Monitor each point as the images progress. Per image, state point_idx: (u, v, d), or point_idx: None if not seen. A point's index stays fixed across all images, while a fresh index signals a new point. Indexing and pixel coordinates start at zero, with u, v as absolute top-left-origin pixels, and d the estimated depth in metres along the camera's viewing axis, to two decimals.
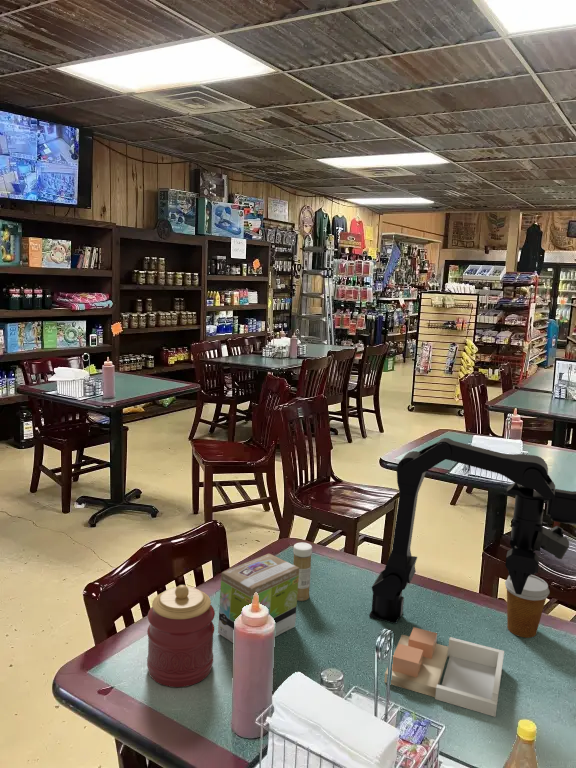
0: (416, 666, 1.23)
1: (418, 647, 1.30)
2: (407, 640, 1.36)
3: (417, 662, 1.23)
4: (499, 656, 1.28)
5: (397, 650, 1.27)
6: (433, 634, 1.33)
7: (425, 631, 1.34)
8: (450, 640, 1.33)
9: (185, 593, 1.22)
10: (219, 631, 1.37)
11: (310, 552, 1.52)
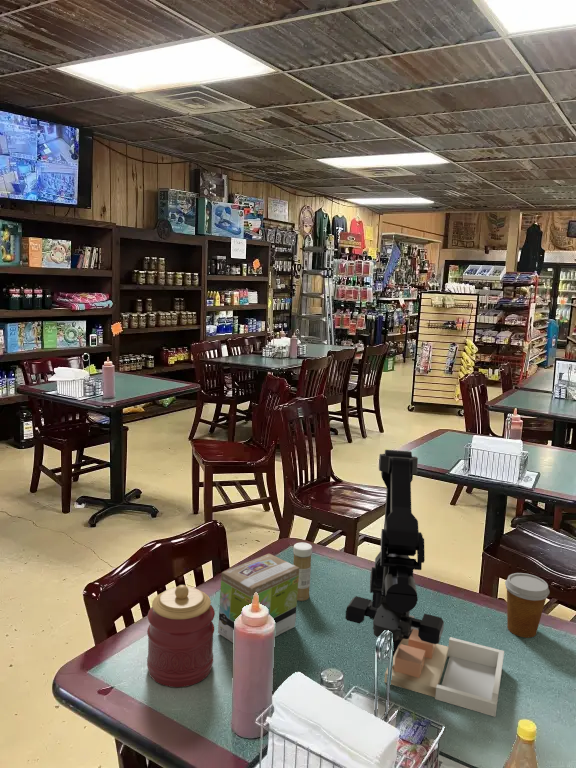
0: (418, 666, 1.23)
1: (418, 647, 1.30)
2: (407, 640, 1.36)
3: (419, 662, 1.23)
4: (499, 656, 1.28)
5: (399, 651, 1.26)
6: None
7: None
8: (450, 640, 1.33)
9: (185, 593, 1.22)
10: (219, 631, 1.37)
11: (310, 552, 1.52)
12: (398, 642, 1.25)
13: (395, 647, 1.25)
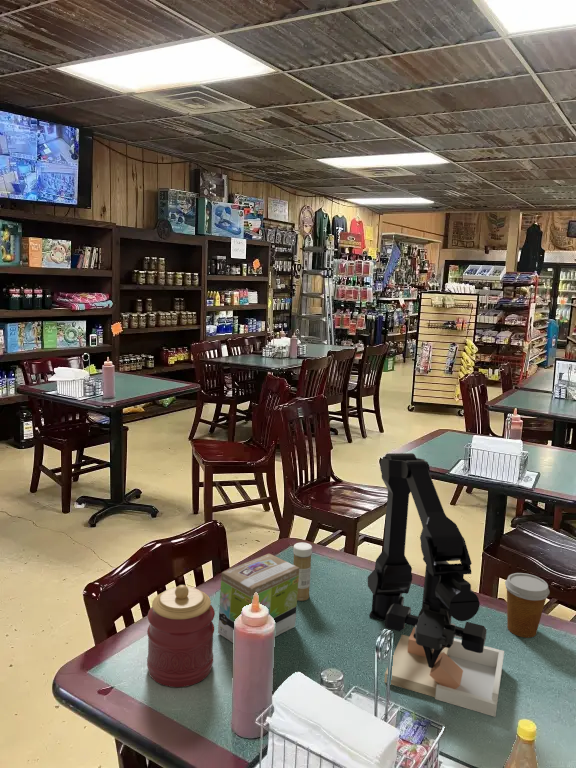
0: (456, 686, 1.20)
1: (418, 647, 1.30)
2: (407, 640, 1.36)
3: (459, 683, 1.20)
4: (499, 656, 1.28)
5: (442, 660, 1.23)
6: None
7: None
8: None
9: (185, 593, 1.22)
10: (219, 631, 1.37)
11: (310, 552, 1.52)
12: (439, 651, 1.22)
13: (436, 656, 1.22)
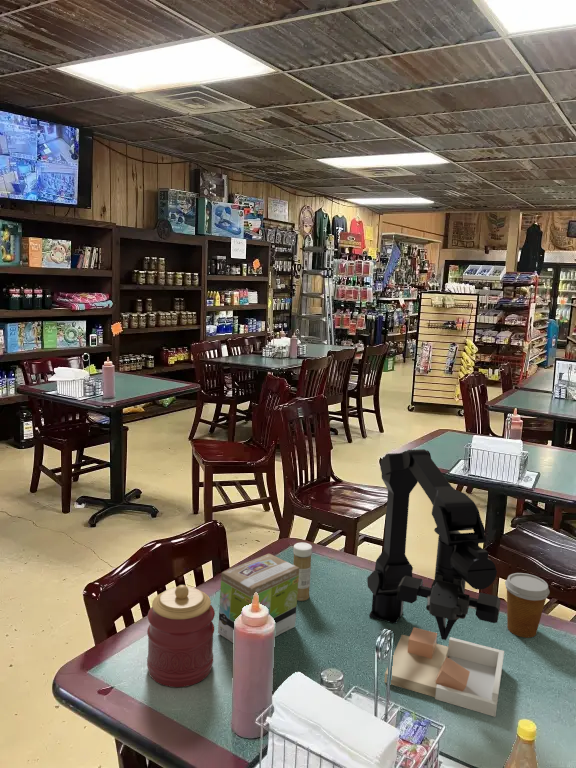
0: (462, 687, 1.20)
1: (418, 647, 1.30)
2: (407, 640, 1.36)
3: (465, 684, 1.20)
4: (499, 656, 1.28)
5: (445, 664, 1.23)
6: (433, 634, 1.33)
7: (425, 631, 1.34)
8: (450, 640, 1.33)
9: (185, 593, 1.22)
10: (219, 631, 1.37)
11: (310, 552, 1.52)
12: (453, 622, 1.20)
13: (449, 627, 1.20)
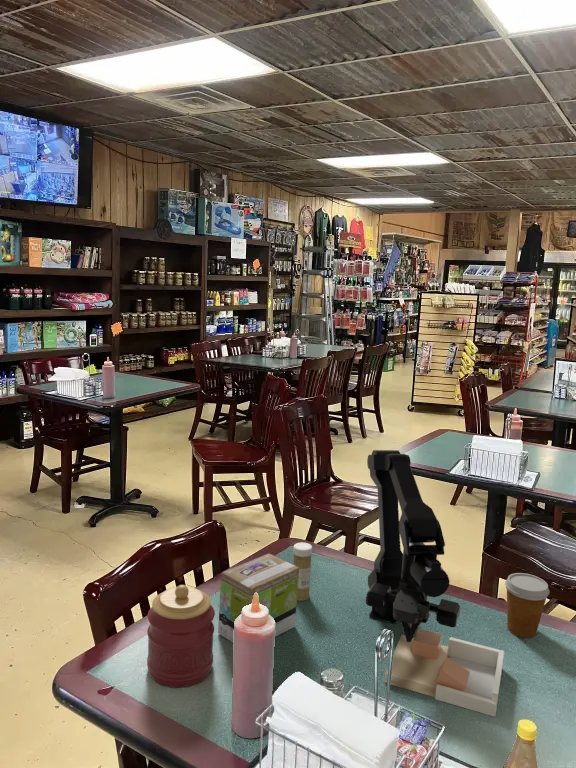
0: (462, 688, 1.20)
1: (423, 648, 1.30)
2: None
3: (465, 684, 1.20)
4: (499, 656, 1.28)
5: (445, 664, 1.23)
6: (438, 635, 1.33)
7: (430, 632, 1.34)
8: (450, 640, 1.33)
9: (185, 593, 1.22)
10: (219, 631, 1.37)
11: (310, 552, 1.52)
12: (416, 626, 1.31)
13: (413, 631, 1.31)
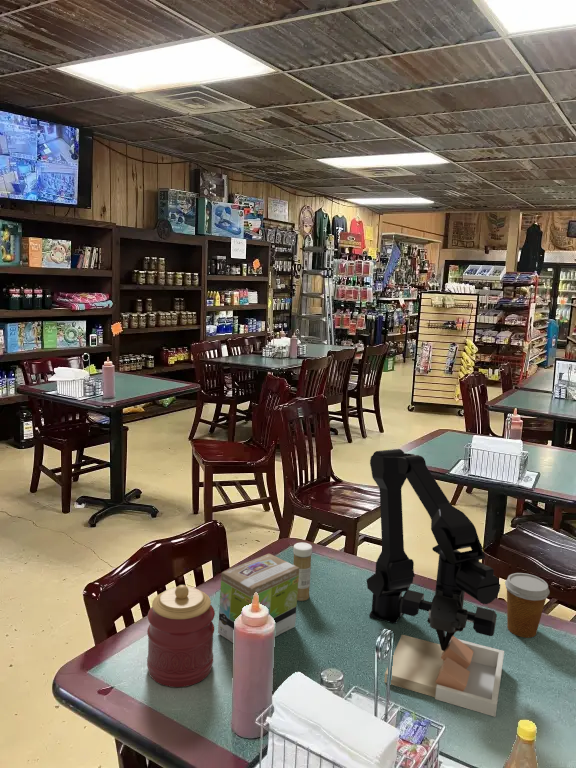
0: (462, 688, 1.20)
1: (454, 659, 1.28)
2: (407, 640, 1.36)
3: (465, 684, 1.20)
4: (499, 656, 1.28)
5: (445, 664, 1.23)
6: (470, 651, 1.30)
7: (463, 644, 1.31)
8: None
9: (185, 593, 1.22)
10: (219, 631, 1.37)
11: (310, 552, 1.52)
12: (452, 634, 1.28)
13: (448, 639, 1.29)
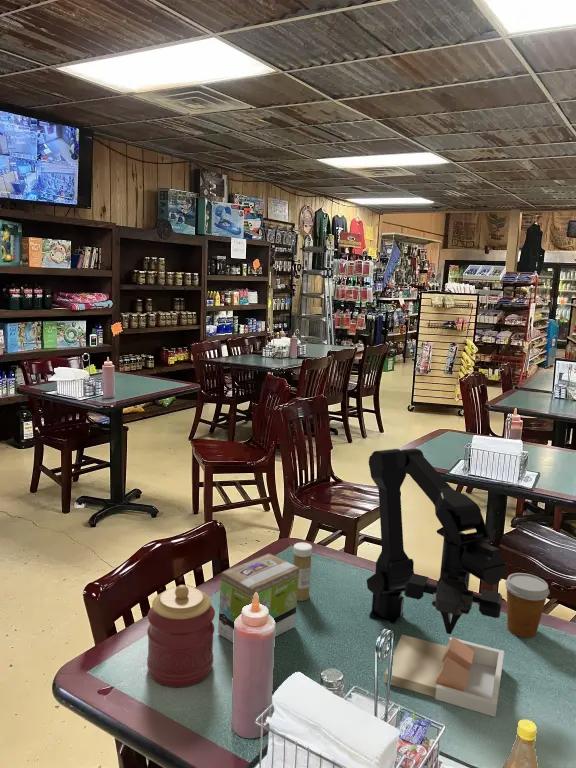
0: (462, 688, 1.20)
1: (455, 660, 1.28)
2: (407, 640, 1.36)
3: (465, 684, 1.20)
4: (499, 656, 1.28)
5: (445, 664, 1.23)
6: (471, 650, 1.30)
7: (463, 645, 1.31)
8: None
9: (185, 593, 1.22)
10: (219, 631, 1.37)
11: (310, 552, 1.52)
12: (458, 617, 1.27)
13: (454, 622, 1.28)
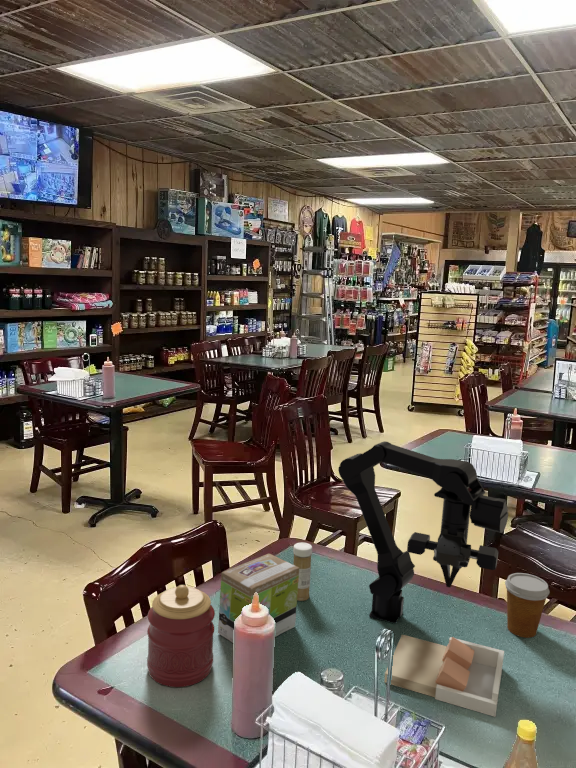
0: (462, 688, 1.20)
1: (455, 660, 1.28)
2: (407, 640, 1.36)
3: (465, 684, 1.20)
4: (499, 656, 1.28)
5: (445, 664, 1.23)
6: (471, 650, 1.30)
7: (463, 645, 1.31)
8: None
9: (185, 593, 1.22)
10: (219, 631, 1.37)
11: (310, 552, 1.52)
12: (457, 571, 1.37)
13: (453, 576, 1.37)
